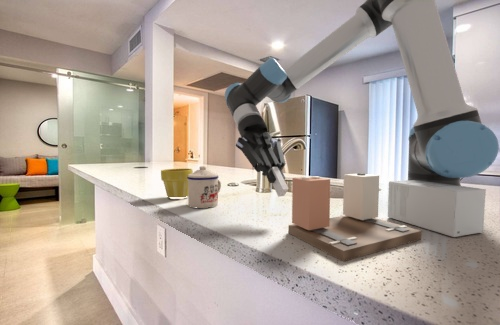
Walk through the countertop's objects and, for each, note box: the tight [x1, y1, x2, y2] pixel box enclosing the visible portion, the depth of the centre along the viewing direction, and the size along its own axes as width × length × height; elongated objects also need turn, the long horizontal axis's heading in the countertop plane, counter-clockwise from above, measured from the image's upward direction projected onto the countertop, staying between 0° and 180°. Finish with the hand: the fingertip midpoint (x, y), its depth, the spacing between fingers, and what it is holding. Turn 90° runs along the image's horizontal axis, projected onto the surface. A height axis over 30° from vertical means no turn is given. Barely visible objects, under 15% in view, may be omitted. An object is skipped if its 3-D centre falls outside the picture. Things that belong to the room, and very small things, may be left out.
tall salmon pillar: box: [291, 175, 331, 230], centre depth 48 cm, size 5×5×9 cm
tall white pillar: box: [342, 172, 380, 220], centre depth 54 cm, size 5×5×9 cm
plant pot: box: [160, 167, 194, 198], centre depth 85 cm, size 10×10×10 cm
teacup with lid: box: [187, 165, 222, 209], centre depth 75 cm, size 12×9×12 cm
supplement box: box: [387, 179, 487, 238], centre depth 55 cm, size 9×9×15 cm
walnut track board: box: [287, 215, 422, 262], centre depth 48 cm, size 20×14×2 cm
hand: (283, 192), depth 56 cm, fingers closed
